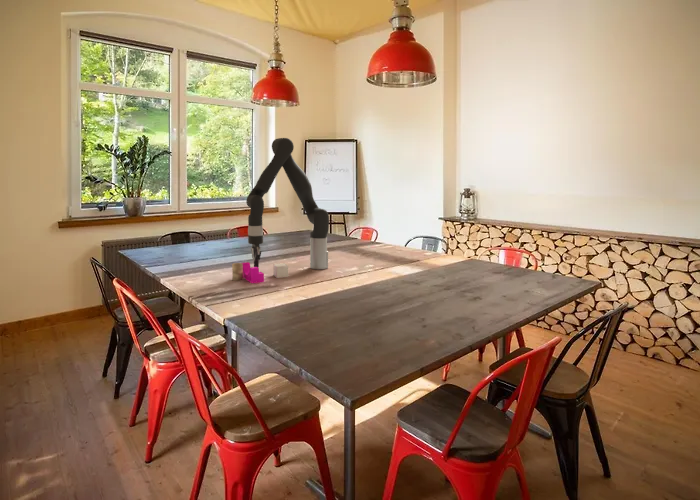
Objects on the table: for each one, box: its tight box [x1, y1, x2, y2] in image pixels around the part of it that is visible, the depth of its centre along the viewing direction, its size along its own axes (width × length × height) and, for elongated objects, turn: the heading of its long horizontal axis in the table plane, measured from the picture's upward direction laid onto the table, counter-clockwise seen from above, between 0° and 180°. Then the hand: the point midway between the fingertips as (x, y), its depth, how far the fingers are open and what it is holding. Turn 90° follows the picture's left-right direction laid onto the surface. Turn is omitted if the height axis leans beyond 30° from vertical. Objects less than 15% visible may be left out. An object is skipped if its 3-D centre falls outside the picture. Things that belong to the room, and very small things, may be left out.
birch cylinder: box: [231, 262, 244, 282], centre depth 226 cm, size 5×5×8 cm
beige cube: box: [272, 262, 289, 279], centre depth 235 cm, size 6×6×6 cm
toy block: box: [241, 261, 265, 284], centre depth 227 cm, size 15×6×8 cm, turn 31°
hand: (256, 267), depth 236 cm, fingers closed
